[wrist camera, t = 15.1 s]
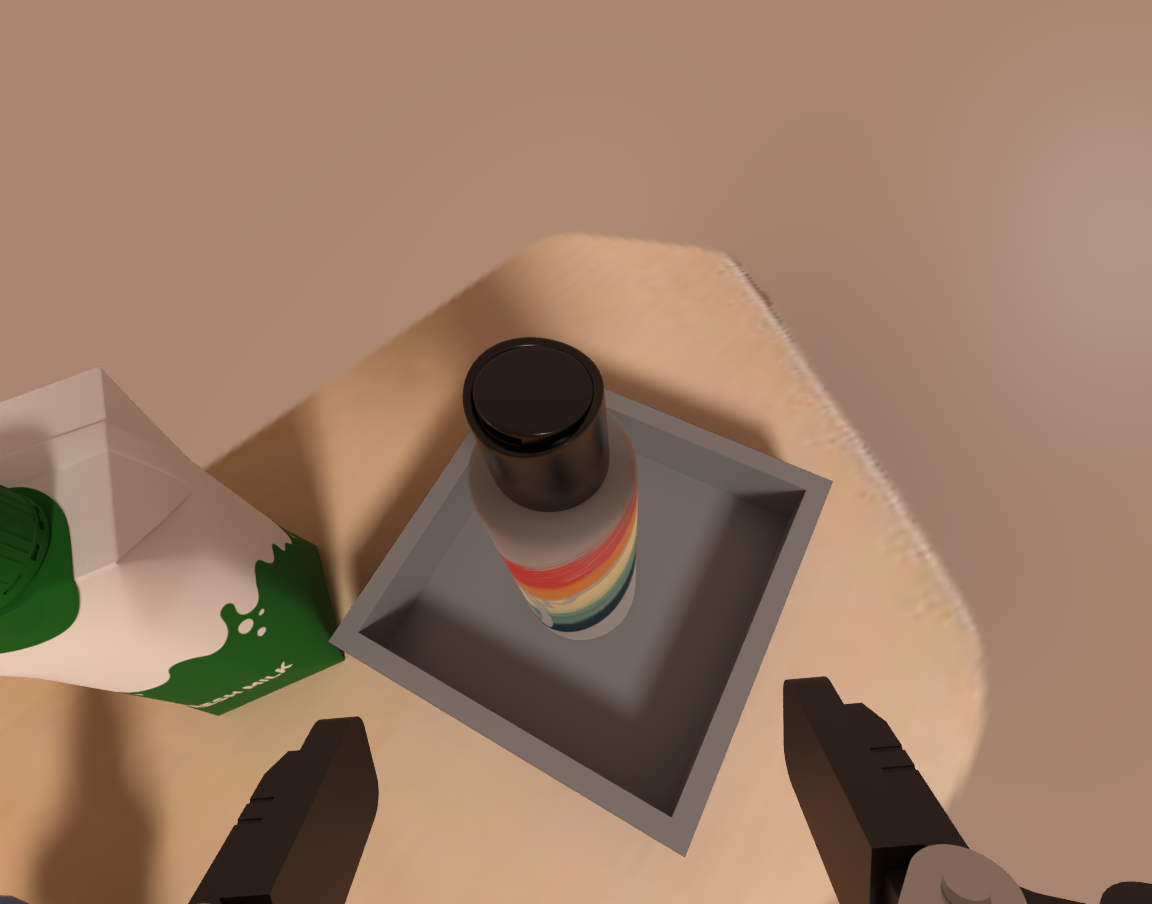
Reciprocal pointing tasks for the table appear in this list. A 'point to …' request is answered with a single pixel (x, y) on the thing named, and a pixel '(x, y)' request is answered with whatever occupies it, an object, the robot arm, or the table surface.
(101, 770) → the table surface
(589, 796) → the bin
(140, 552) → the milk carton
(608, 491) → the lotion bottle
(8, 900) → the grapes
